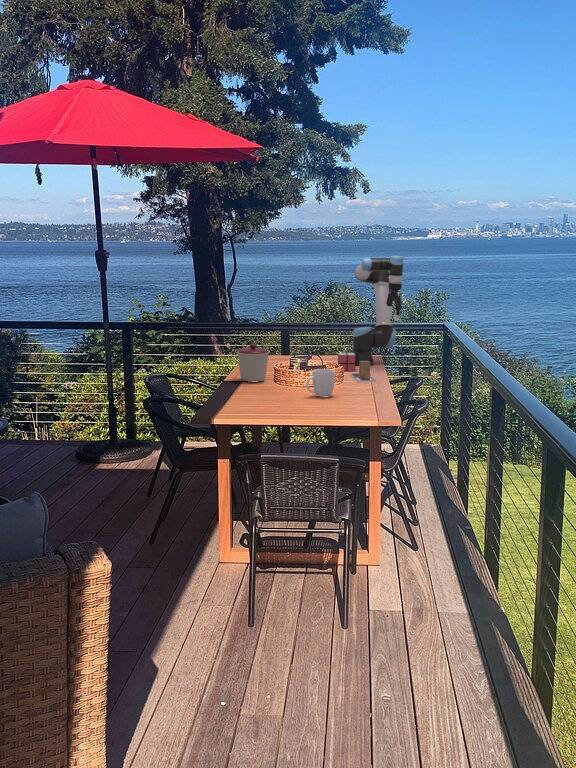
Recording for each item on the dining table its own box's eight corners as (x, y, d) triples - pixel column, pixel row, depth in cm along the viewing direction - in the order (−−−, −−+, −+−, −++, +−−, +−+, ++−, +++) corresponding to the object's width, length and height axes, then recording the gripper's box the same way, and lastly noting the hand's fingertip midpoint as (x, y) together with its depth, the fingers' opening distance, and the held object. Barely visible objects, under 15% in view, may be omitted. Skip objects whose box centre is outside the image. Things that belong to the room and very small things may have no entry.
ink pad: (350, 375, 461) (350, 373, 461) (365, 375, 462) (365, 373, 462) (353, 378, 452) (353, 376, 452) (369, 378, 454) (369, 375, 453)
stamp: (359, 378, 448) (359, 361, 447) (367, 378, 449) (368, 360, 447) (361, 380, 444) (361, 362, 442) (369, 380, 444) (370, 362, 443)
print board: (352, 378, 451) (352, 377, 451) (371, 378, 453) (371, 377, 453) (357, 382, 440) (357, 380, 440) (376, 381, 442) (376, 380, 442)
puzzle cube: (355, 371, 475) (355, 355, 473) (338, 371, 475) (338, 355, 474) (354, 369, 485) (354, 352, 483) (337, 369, 485) (338, 352, 483)
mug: (311, 399, 392) (311, 373, 390) (301, 395, 402) (302, 370, 400) (338, 397, 398) (338, 371, 396) (328, 393, 408) (328, 368, 406)
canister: (268, 384, 432) (268, 345, 429) (235, 383, 433) (234, 345, 429) (270, 378, 450) (270, 341, 446) (238, 378, 451) (238, 341, 447)
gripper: (382, 280, 475) (380, 315, 480) (396, 285, 451) (393, 322, 456) (394, 280, 476) (392, 315, 481) (408, 285, 453) (406, 322, 458)
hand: (392, 319), depth 469 cm, fingers open, 13 cm apart
